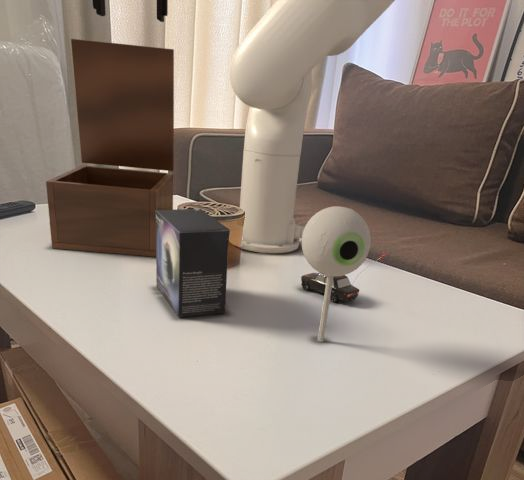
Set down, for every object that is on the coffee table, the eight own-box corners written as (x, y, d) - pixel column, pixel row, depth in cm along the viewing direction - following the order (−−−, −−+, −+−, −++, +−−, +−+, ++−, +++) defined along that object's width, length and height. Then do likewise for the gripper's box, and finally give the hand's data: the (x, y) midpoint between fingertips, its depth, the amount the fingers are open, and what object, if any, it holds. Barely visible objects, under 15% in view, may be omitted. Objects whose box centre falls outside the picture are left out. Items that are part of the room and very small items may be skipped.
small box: (152, 287, 70) (152, 207, 65) (199, 284, 72) (202, 207, 68) (175, 318, 61) (177, 229, 57) (227, 313, 64) (233, 228, 59)
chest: (156, 257, 82) (156, 191, 77) (51, 248, 81) (45, 181, 76) (172, 229, 98) (173, 173, 93) (85, 221, 97) (82, 165, 92)
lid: (173, 49, 83) (177, 48, 87) (70, 38, 82) (80, 38, 87) (173, 171, 93) (177, 164, 97) (81, 162, 92) (89, 156, 96)
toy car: (314, 283, 77) (322, 230, 74) (381, 310, 70) (393, 252, 66) (296, 287, 75) (303, 232, 71) (364, 316, 67) (376, 256, 64)
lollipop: (301, 356, 56) (321, 214, 49) (281, 328, 62) (296, 198, 55) (362, 353, 58) (389, 216, 51) (336, 326, 64) (357, 200, 57)
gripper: (188, -103, 82) (186, 25, 89) (76, -115, 81) (83, 15, 88) (182, -120, 75) (181, 20, 82) (59, -133, 74) (69, 9, 82)
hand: (130, 18), depth 85 cm, fingers open, 9 cm apart
